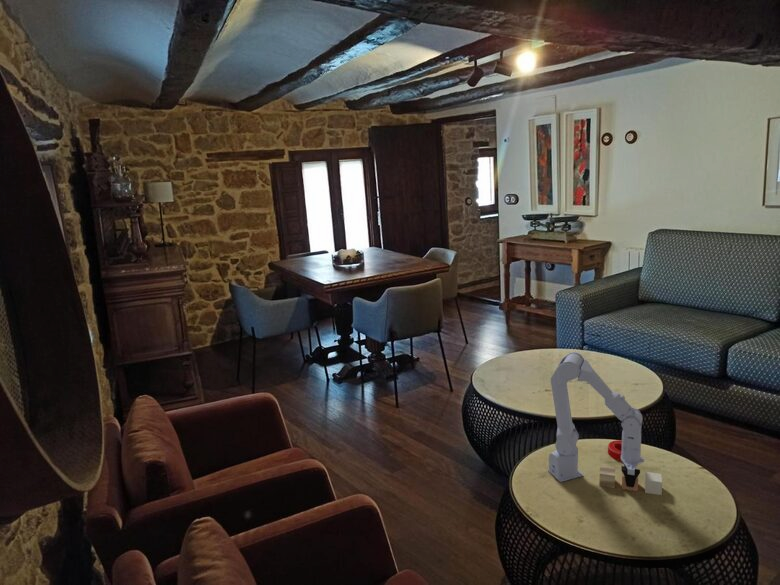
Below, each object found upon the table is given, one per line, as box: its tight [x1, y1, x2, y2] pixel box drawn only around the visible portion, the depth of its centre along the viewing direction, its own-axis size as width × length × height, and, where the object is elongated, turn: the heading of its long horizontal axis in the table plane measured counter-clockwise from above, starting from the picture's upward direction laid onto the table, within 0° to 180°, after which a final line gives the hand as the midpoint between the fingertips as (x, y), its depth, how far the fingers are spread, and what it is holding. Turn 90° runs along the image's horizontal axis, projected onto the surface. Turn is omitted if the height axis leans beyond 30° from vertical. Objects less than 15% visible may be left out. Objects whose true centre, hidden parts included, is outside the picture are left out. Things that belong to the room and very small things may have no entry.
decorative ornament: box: [607, 439, 623, 462], centre depth 199 cm, size 10×10×3 cm
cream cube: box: [644, 471, 663, 496], centre depth 177 cm, size 5×5×5 cm
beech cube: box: [598, 465, 616, 488], centre depth 183 cm, size 5×5×5 cm
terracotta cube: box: [621, 471, 639, 492], centre depth 180 cm, size 5×5×5 cm
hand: (629, 481), depth 180 cm, fingers closed on terracotta cube, 5 cm apart
